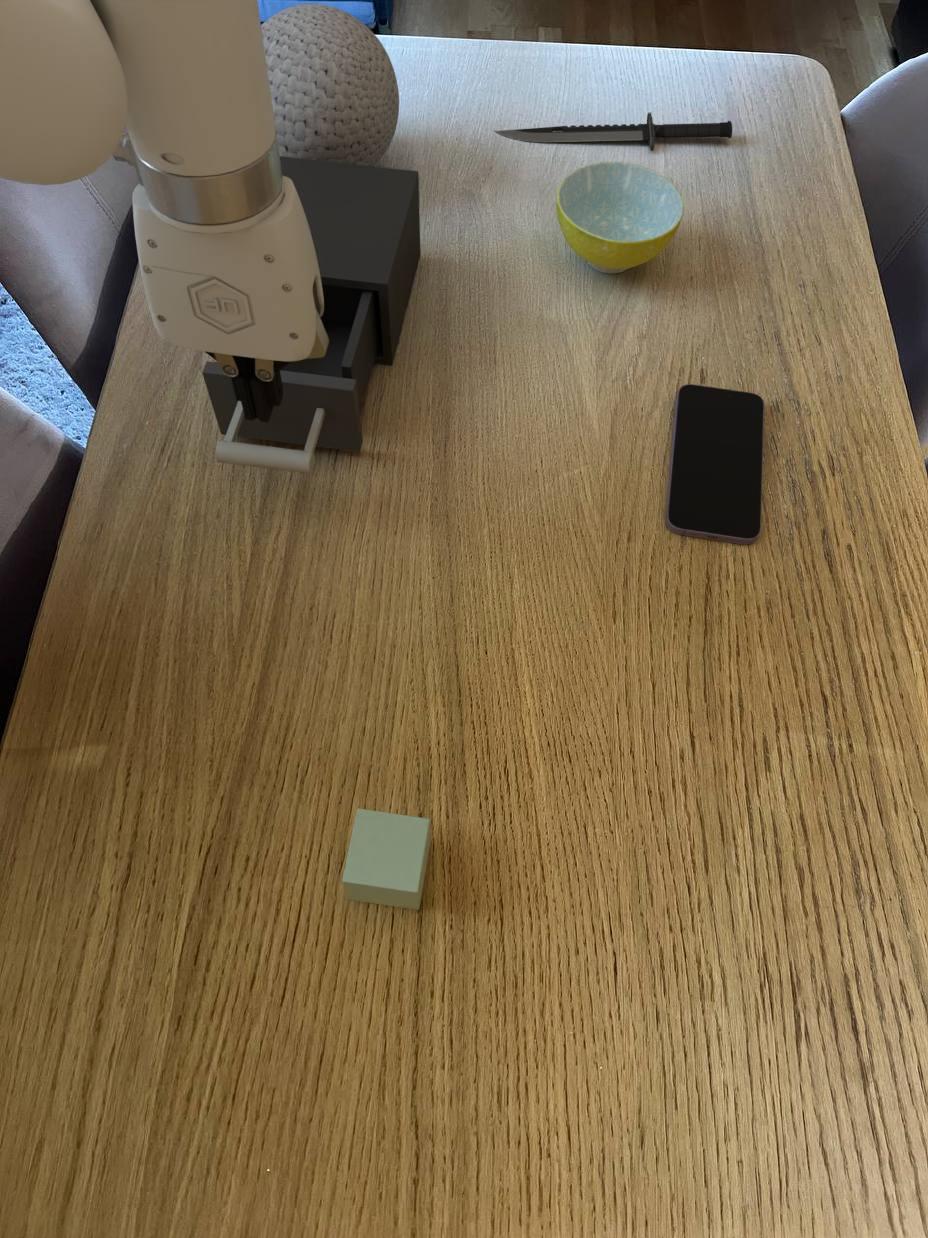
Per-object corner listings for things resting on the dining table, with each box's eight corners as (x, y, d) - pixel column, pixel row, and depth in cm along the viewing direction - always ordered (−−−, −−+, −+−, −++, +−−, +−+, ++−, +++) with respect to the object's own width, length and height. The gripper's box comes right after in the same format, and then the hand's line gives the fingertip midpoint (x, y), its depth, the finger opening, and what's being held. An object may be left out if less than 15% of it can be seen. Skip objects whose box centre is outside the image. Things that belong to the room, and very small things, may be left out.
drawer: (345, 511, 69) (336, 452, 64) (199, 492, 70) (177, 432, 64) (391, 334, 79) (387, 268, 73) (263, 319, 80) (249, 253, 74)
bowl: (672, 227, 89) (687, 168, 83) (665, 307, 83) (680, 249, 78) (557, 212, 89) (565, 152, 84) (542, 290, 84) (549, 231, 78)
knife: (494, 143, 94) (494, 110, 96) (494, 159, 96) (494, 126, 98) (735, 137, 93) (729, 105, 95) (731, 153, 95) (725, 121, 97)
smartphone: (665, 527, 70) (678, 381, 77) (662, 535, 70) (675, 390, 78) (761, 541, 69) (765, 394, 76) (757, 549, 70) (761, 403, 77)
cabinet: (392, 365, 78) (387, 283, 71) (250, 348, 79) (230, 265, 72) (420, 255, 86) (418, 170, 78) (289, 240, 86) (275, 155, 79)
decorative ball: (222, 189, 90) (185, 28, 77) (307, 114, 97) (287, -46, 84) (350, 240, 87) (334, 80, 74) (429, 158, 93) (427, -2, 80)
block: (348, 900, 56) (341, 881, 52) (362, 830, 58) (357, 807, 54) (419, 910, 55) (417, 893, 52) (430, 840, 58) (430, 818, 54)
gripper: (52, 192, 48) (144, 431, 64) (331, 227, 47) (354, 460, 63) (101, 112, 52) (176, 356, 67) (360, 143, 51) (375, 383, 67)
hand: (262, 406), depth 65 cm, fingers closed
